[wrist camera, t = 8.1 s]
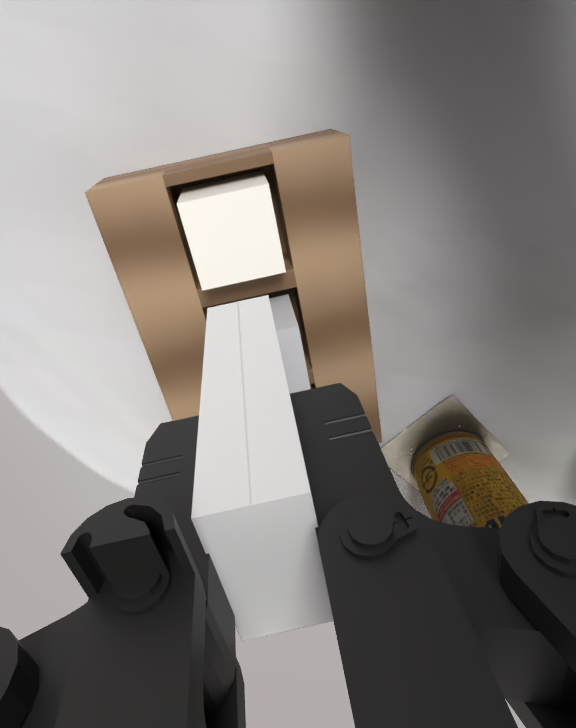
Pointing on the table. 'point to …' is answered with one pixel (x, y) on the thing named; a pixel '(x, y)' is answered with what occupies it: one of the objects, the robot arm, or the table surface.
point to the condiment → (455, 467)
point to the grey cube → (290, 344)
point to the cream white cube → (231, 230)
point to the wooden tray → (300, 281)
